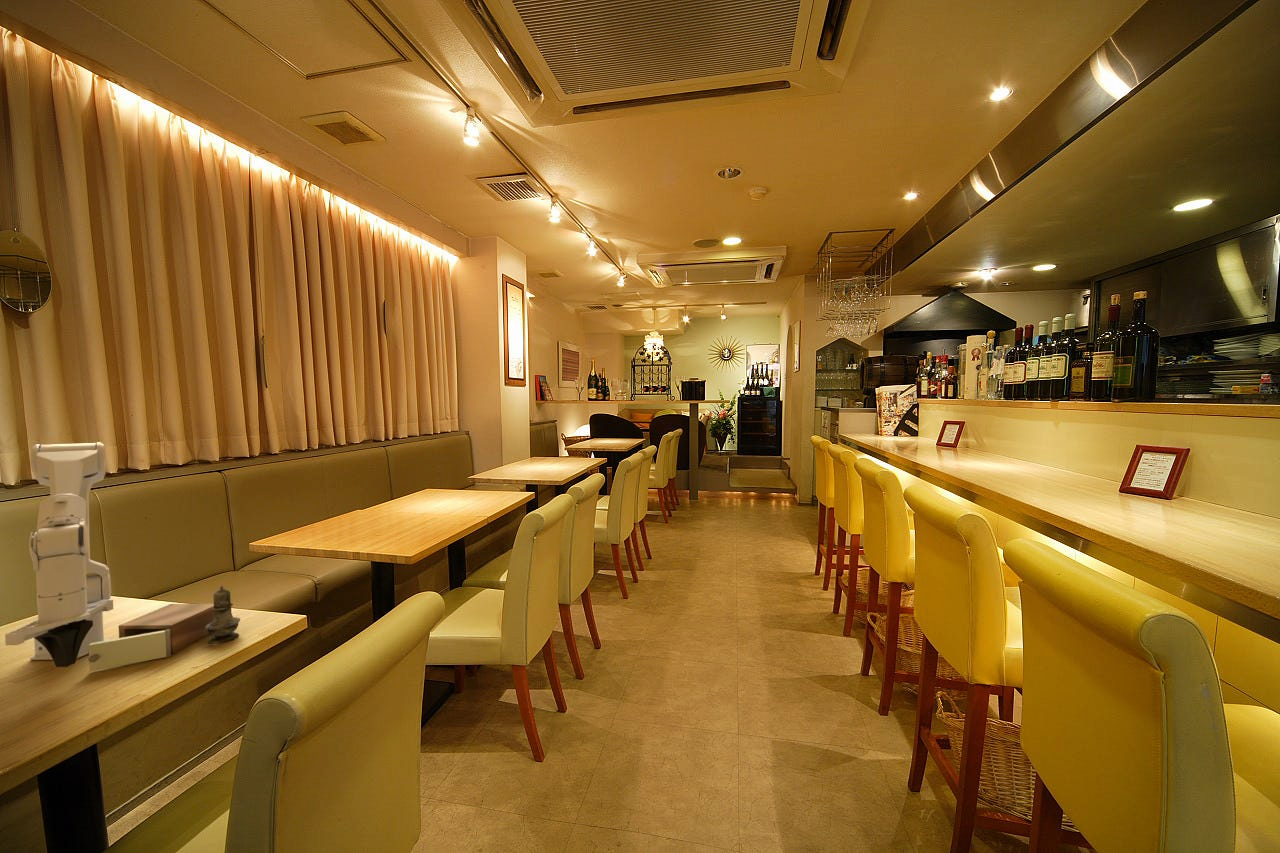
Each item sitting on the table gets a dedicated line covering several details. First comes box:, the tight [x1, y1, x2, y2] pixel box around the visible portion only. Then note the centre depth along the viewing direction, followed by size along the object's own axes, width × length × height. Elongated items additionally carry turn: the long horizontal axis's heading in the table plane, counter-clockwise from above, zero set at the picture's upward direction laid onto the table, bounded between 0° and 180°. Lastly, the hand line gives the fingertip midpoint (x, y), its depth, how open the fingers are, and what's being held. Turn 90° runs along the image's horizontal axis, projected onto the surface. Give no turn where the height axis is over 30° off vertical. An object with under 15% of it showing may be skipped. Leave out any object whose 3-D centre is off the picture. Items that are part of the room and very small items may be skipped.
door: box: [88, 629, 172, 672], centre depth 95 cm, size 11×2×6 cm, turn 120°
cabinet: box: [118, 603, 214, 656], centre depth 104 cm, size 11×11×6 cm
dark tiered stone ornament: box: [205, 585, 241, 646], centre depth 105 cm, size 6×6×12 cm
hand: (65, 665), depth 87 cm, fingers closed
